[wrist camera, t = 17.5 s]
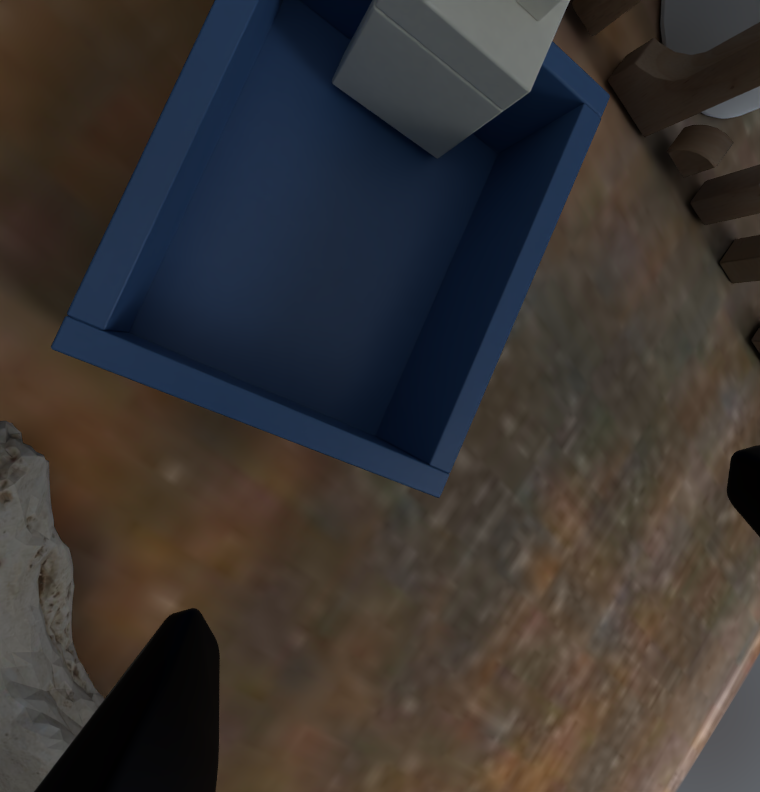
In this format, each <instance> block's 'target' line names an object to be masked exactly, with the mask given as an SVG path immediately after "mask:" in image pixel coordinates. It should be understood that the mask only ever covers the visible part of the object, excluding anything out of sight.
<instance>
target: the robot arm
mask: <svg viewBox="0 0 760 792" xmlns="http://www.w3.org/2000/svg"><path fill="white" fill-rule="evenodd" d="M727 495H728V498H729V500H730V502H731V503H732V505H733V506H734V507H735V509H736V510H737V511H738V512H739V513H740V514H741V516H742V517H743V518H744V519H745V520H746V522H747V523H748V524H749V525H750V526H751V527H752V529H753V530H754V531H755V532H756V533H757V534H758V536H759V537H760V445H759V446H753V447H750V448H746V449H743V450H739V451H737V452H735V453H734V454H733V456H732V457H731V462H730V469H729V477H728V484H727ZM219 666H220V655H219V647H218V643H217V640H216V638H215V637H214V635H213V633H212V631H211V630H210V628H209V626H208V624H207V623H206V621H205V619H204V617H203V616H202V614H201V613H200V611H199V610H197V609H195V608H191V609H188V610H184V611H181V612H177V613H174V614H172V615H170V616H169V617H167V619H166V620H165V621H164V622H163V623H162V625H161V626H160V627H159V629H158V630H157V631H156V633H155V634H154V635H153V637H152V638H151V639H150V640H149V642H148V643H147V644H146V646H145V647H144V648H143V650H142V651H141V652H140V654H139V655H138V656H137V657H136V659H135V660H134V661H133V663H132V664H131V665H130V667H129V668H128V669H127V671H126V672H125V673H124V674H123V676H122V677H121V678H120V680H119V681H118V682H117V684H116V685H115V686H114V688H113V689H112V690H111V691H110V693H109V694H108V695H107V697H106V698H105V699H104V701H103V702H102V703H101V705H100V706H99V707H98V708H97V710H96V711H95V712H94V714H93V715H92V716H91V718H90V719H89V720H88V722H87V723H86V724H85V725H84V727H83V728H82V729H81V731H80V732H79V733H78V735H77V736H76V737H75V739H74V740H73V741H72V742H71V744H70V745H69V746H68V748H67V749H66V750H65V752H64V753H63V754H62V756H61V757H60V758H59V760H58V761H57V762H56V763H55V765H54V766H53V767H52V769H51V770H50V771H49V773H48V774H47V775H46V777H45V778H44V779H43V780H42V782H41V783H40V784H39V786H38V787H37V788H36V790H35V791H34V792H215V790H216V781H217V770H218V754H219Z"/></svg>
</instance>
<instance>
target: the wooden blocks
mask: <svg viewBox="0 0 760 792" xmlns="http://www.w3.org/2000/svg"><path fill="white" fill-rule="evenodd" d="M640 1H641V0H573V2H572V6H573V8H574V10H575V11H576V13H577V14H578V16H579V17H580V19H581V21H582V22H583V24H584V25H585V27H586V29H587V30H588V32H589V33H590V35H591V36H594V35H596V34H597V33H598V32H600V31H601V30H602V29H604V28H605V27H606V26H608V25H609V24H610V23H612V22H613V21H614V20H616V19H617V18H618V17H620V16H621V15H622V14H624V13H625V12H626V11H628V10H629V9H630V8H632V7H633V6H634V5H636V4H637V3H638V2H640ZM608 81H609V83H610V85H611V86H612V88H613V89H614V91H615V92H616V94H617V96H618V97H619V99H620V100H621V102H622V103H623V105H624V106H625V108H626V110H627V111H628V113H629V114H630V116H631V117H632V119H633V121H634V122H635V124H636V125H637V127H638V128H639V130H640V131H641V133H642V135H643V136H644V137H646V136H648V135H651V134H653V133H655V132H657V131H660V130H662V129H664V128H666V127H669V126H671V125H673V124H675V123H678V122H680V121H682V120H684V119H687V118H689V117H691V116H693V115H696V114H698V113H700V112H702V111H705V110H707V109H709V108H712V107H714V106H716V105H718V104H721V103H723V102H725V101H727V100H730V99H732V98H734V97H736V96H739V95H741V94H743V93H745V92H748V91H750V90H752V89H754V88H757V87H759V86H760V22H759V23H757V24H755V25H754V26H752V27H750V28H748V29H746V30H745V31H743V32H741V33H739V34H737V35H736V36H734V37H732V38H730V39H728V40H727V41H725V42H723V43H721V44H719V45H718V46H716V47H714V48H712V49H710V50H709V51H707V52H703V53H698V54H693V55H689V54H684V53H678V52H674V51H673V50H671V49H669V48H668V47H666V46H664V45H663V44H661V43H660V42H658V41H657V40H656V39H655V38H653V39H651V40H650V41H648V42H647V43H645V44H644V45H642V46H641V47H639V48H637V49H636V50H634V51H633V52H631V53H630V54H628V55H627V56H626V57H625V58H624V59H623V61H622V62H621V63H620V64H619V66H618V67H617V68H616V70H615V71H614V72H613V73H612V75H611V76H610V77H609V79H608ZM733 143H734V142H733V141H732V140H731V139H730V137H729V136H728V135H727V134H726V133H724V132H722V131H721V130H719V129H718V128H714V127H711V126H707V125H692V126H688V127H685V128H684V129H683V130H682V131H681V133H680V134H679V135H678V137H677V138H676V139H675V141H674V142H673V143H672V145H671V146H670V147H669V149H668V150H667V152H668V154H669V155H670V157H671V158H672V160H673V162H674V163H675V165H676V166H677V168H678V170H679V171H680V173H681V174H682V176H683V177H687V176H690V175H693V174H696V173H699V172H702V171H705V170H708V169H712V168H715V167H716V166H717V165H718V164H719V163H720V161H721V160H722V158H723V157H724V156H725V154H726V153H727V151H728V150H729V149H730V147H731V146H732V144H733ZM691 205H692V207H693V209H694V210H695V212H696V213H697V215H698V216H699V218H700V220H701V221H702V223H703V224H704V225H708V224H713V223H717V222H722V221H726V220H731V219H736V218H740V217H745V216H749V215H754V214H758V213H760V165H757V166H753V167H750V168H747V169H744V170H740V171H737V172H734V173H730V174H727V175H724V176H721V177H717V178H714V179H711V180H708V181H706V182H705V183H704V184H703V185H702V187H701V188H700V189H699V191H698V192H697V194H696V195H695V196H694V198H693V199H692V201H691ZM719 263H720V265H721V266H722V268H723V269H724V271H725V273H726V274H727V276H728V277H729V279H730V280H731V282H732V283H741V282H750V281H760V235H757V236H751V237H746V238H740V239H735V240H734V242H733V243H732V245H731V246H730V248H729V249H728V251H727V252H726V254H725V255H724V257H723V258H722V260H721V261H720V262H719ZM751 341H752V342H753V344H754V345H755V347H756V348H757V350H758V351H759V353H760V327H759V329H758V330H757V332H756V333H755V335H754V336H753V338H752V339H751Z"/></svg>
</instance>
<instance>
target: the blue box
mask: <svg viewBox="0 0 760 792" xmlns="http://www.w3.org/2000/svg"><path fill="white" fill-rule="evenodd" d="M371 2H372V0H215V1H214V3H213V5H212V7H211V9H210V11H209V14H208V16H207V18H206V20H205V22H204V24H203V26H202V28H201V30H200V33H199V35H198V37H197V39H196V41H195V43H194V45H193V47H192V50H191V52H190V54H189V56H188V58H187V60H186V62H185V64H184V66H183V69H182V71H181V73H180V75H179V77H178V79H177V81H176V83H175V85H174V88H173V90H172V92H171V94H170V96H169V98H168V100H167V102H166V104H165V107H164V109H163V111H162V113H161V115H160V117H159V119H158V121H157V123H156V126H155V128H154V130H153V132H152V134H151V136H150V138H149V140H148V143H147V145H146V147H145V149H144V151H143V153H142V155H141V157H140V159H139V162H138V164H137V166H136V168H135V170H134V172H133V174H132V176H131V178H130V181H129V183H128V185H127V187H126V189H125V191H124V193H123V195H122V197H121V200H120V202H119V204H118V206H117V208H116V210H115V212H114V214H113V216H112V219H111V221H110V223H109V225H108V227H107V229H106V231H105V233H104V236H103V238H102V240H101V242H100V244H99V246H98V248H97V250H96V252H95V255H94V257H93V259H92V261H91V263H90V265H89V267H88V269H87V271H86V274H85V276H84V278H83V280H82V282H81V284H80V286H79V288H78V290H77V293H76V295H75V297H74V299H73V301H72V303H71V305H70V307H69V310H68V312H67V315H68V316H66V317H65V318H64V320H63V322H62V324H61V326H60V329H59V331H58V333H57V335H56V337H55V339H54V341H53V343H52V345H51V348H52V349H53V350H55V351H58V352H61V353H63V354H66V355H68V356H71V357H74V358H76V359H79V360H81V361H84V362H87V363H89V364H92V365H94V366H97V367H100V368H102V369H105V370H107V371H110V372H113V373H115V374H118V375H120V376H123V377H126V378H128V379H131V380H133V381H136V382H139V383H141V384H144V385H146V386H149V387H151V388H154V389H157V390H159V391H162V392H164V393H167V394H170V395H172V396H175V397H177V398H180V399H183V400H185V401H188V402H190V403H193V404H196V405H198V406H201V407H203V408H206V409H209V410H211V411H214V412H216V413H219V414H222V415H224V416H227V417H229V418H232V419H235V420H237V421H240V422H242V423H245V424H248V425H250V426H253V427H255V428H258V429H261V430H263V431H266V432H268V433H271V434H274V435H276V436H279V437H281V438H284V439H287V440H289V441H292V442H294V443H297V444H300V445H302V446H305V447H307V448H310V449H312V450H315V451H318V452H320V453H323V454H325V455H328V456H331V457H333V458H336V459H338V460H341V461H344V462H346V463H349V464H351V465H354V466H357V467H359V468H362V469H364V470H367V471H370V472H372V473H375V474H377V475H380V476H383V477H385V478H388V479H390V480H393V481H396V482H398V483H401V484H403V485H406V486H409V487H411V488H414V489H416V490H419V491H422V492H424V493H427V494H429V495H432V496H435V497H437V498H439V497H440V495H441V493H442V491H443V488H444V486H445V483H446V481H447V479H448V476H449V474H448V473H450V472H451V470H452V467H453V465H454V462H455V460H456V458H457V455H458V453H459V451H460V448H461V446H462V444H463V441H464V439H465V437H466V434H467V432H468V430H469V427H470V425H471V423H472V420H473V418H474V416H475V413H476V411H477V409H478V406H479V404H480V402H481V399H482V397H483V395H484V392H485V390H486V387H487V385H488V383H489V380H490V378H491V376H492V373H493V371H494V369H495V366H496V364H497V362H498V359H499V357H500V355H501V352H502V350H503V348H504V345H505V343H506V341H507V338H508V336H509V334H510V331H511V329H512V327H513V324H514V322H515V320H516V317H517V315H518V312H519V310H520V308H521V305H522V303H523V301H524V298H525V296H526V294H527V291H528V289H529V287H530V284H531V282H532V280H533V277H534V275H535V273H536V270H537V268H538V266H539V263H540V261H541V259H542V256H543V254H544V252H545V249H546V247H547V244H548V242H549V240H550V237H551V235H552V233H553V230H554V228H555V226H556V223H557V221H558V219H559V216H560V214H561V212H562V209H563V207H564V205H565V202H566V200H567V198H568V195H569V193H570V191H571V188H572V186H573V184H574V181H575V179H576V177H577V174H578V172H579V169H580V167H581V165H582V162H583V160H584V158H585V155H586V153H587V151H588V148H589V146H590V144H591V141H592V139H593V137H594V134H595V132H596V130H597V127H598V125H599V123H600V120H601V116H602V114H603V112H604V109H605V107H606V105H607V102H608V100H609V98H610V96H609V94H608V93H607V92H606V91H605V90H604V89H603V88H602V87H601V86H600V85H598V84H597V83H596V82H595V81H594V80H593V79H592V78H591V77H590V76H589V75H588V74H587V73H586V72H585V71H584V70H583V69H581V68H580V67H579V66H578V65H577V64H576V63H575V62H574V61H573V60H572V59H571V58H570V57H569V56H568V55H567V54H565V53H564V52H563V51H562V50H561V49H560V48H559V47H558V46H557V45H556V44H555V43H554V42H553V41H552V43H551V45H550V47H549V50H548V52H547V54H546V57H545V59H544V61H543V64H542V66H541V68H540V70H539V73H538V75H537V77H536V80H535V82H534V84H533V87H532V89H531V91H530V92H529V93H528V94H526V95H525V96H524V97H522V98H521V99H520V100H518V101H517V102H515V103H514V104H513V105H511V106H510V107H509V108H507V109H506V110H503V112H501V113H500V114H499V115H497V116H496V117H495V118H493V119H492V120H490V121H489V122H488V123H486V124H485V125H484V126H482V127H481V128H479V129H478V130H477V131H475V132H474V133H473V134H471V135H470V136H468V137H467V138H466V139H464V140H463V141H462V142H460V143H459V144H457V145H456V146H455V147H453V148H452V149H450V150H449V151H448V152H446V153H445V154H444V155H442V156H441V157H439V158H435V157H434V156H433V155H431V154H430V153H428V152H427V151H426V150H424V149H423V148H421V147H420V146H419V145H417V144H416V143H414V142H413V141H412V140H410V139H409V138H407V137H406V136H405V135H403V134H402V133H400V132H399V131H398V130H396V129H395V128H393V127H392V126H391V125H389V124H388V123H386V122H385V121H384V120H382V119H381V118H379V117H378V116H377V115H375V114H374V113H372V112H371V111H370V110H368V109H367V108H365V107H364V106H363V105H361V104H360V103H359V102H357V101H356V100H354V99H353V98H352V97H350V96H349V95H347V94H346V93H345V92H343V91H342V90H340V89H339V88H338V87H336V86H335V85H333V83H332V79H333V77H334V74H335V72H336V70H337V68H338V66H339V63H340V61H341V59H342V57H343V55H344V52H345V51H346V49H347V47H348V45H349V43H350V41H351V39H352V37H353V36H354V34H355V32H356V30H357V28H358V26H359V24H360V23H361V21H362V19H363V17H364V15H365V13H366V11H367V10H368V8H369V6H370V4H371Z"/></svg>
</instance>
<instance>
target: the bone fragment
mask: <svg viewBox="0 0 760 792" xmlns="http://www.w3.org/2000/svg"><path fill="white" fill-rule="evenodd" d="M73 592H74V580H73V562H72V557H71V554H70V550H69V548H68V547H67V546H66V545H65V544H64V543H63V542H62V540H61V539H60V537H59V535H58V533H57V531H56V529H55V527H54V519H53V513H52V507H51V499H50V482H49V461H47V460H45V457H44V455H42V454H40V453H38V452H36V451H35V450H34V449H33V448H32V447H31V446H29V445H26V444H23V442H22V436H21V432H20V431H19V430H18V429H16V428H15V427H14V425H13V424H12V423H9V422H7V421H0V792H34V791H35V790H36V788H37V787H38V786H39V784H40V783H41V782H42V780H43V779H44V778H45V777H46V775H47V774H48V773H49V771H50V770H51V769H52V767H53V766H54V765H55V763H56V762H57V761H58V760H59V758H60V757H61V756H62V754H63V753H64V752H65V750H66V749H67V748H68V746H69V745H70V744H71V742H72V741H73V740H74V739H75V737H76V736H77V735H78V733H79V732H80V731H81V729H82V728H83V727H84V725H85V724H86V723H87V722H88V720H89V719H90V718H91V716H92V715H93V714H94V712H95V711H96V710H97V708H98V707H99V706H100V705H101V703H102V702H103V701H104V697H103V696H102V695H101V694H99V692H98V691H97V690H96V689H95V688H94V686H93V684H92V682H91V680H90V679H89V674H87V673H86V671H85V669H84V666H83V665H82V663H81V662H80V660H79V659H78V656H77V653H76V650H75V647H74V644H73V640H72V628H71V620H72V600H73Z"/></svg>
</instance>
